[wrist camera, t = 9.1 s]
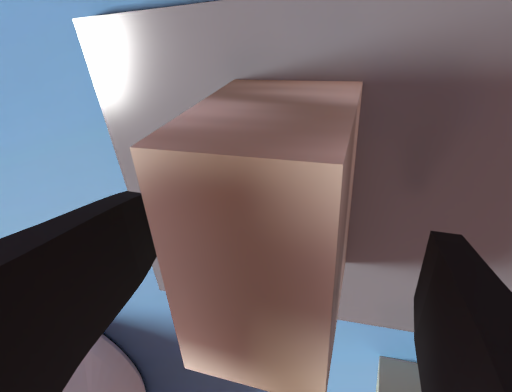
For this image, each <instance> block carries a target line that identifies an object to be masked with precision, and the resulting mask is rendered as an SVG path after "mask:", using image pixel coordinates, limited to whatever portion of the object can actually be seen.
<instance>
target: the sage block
mask: <svg viewBox="0 0 512 392" xmlns="http://www.w3.org/2000/svg"><path fill="white" fill-rule="evenodd" d="M376 392H421V385H420V378H419V370H418V363H415V362H410V361H404V360H399V359H394V358H389V357H383V356H379V366H378V376H377V386H376Z"/></svg>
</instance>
